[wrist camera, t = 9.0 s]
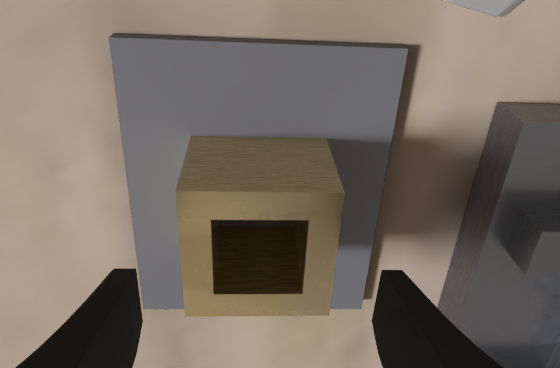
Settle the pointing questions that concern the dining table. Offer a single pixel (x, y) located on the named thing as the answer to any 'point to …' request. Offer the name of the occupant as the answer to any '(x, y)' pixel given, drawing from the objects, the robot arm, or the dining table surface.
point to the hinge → (488, 6)
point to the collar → (258, 239)
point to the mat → (252, 133)
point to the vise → (512, 242)
